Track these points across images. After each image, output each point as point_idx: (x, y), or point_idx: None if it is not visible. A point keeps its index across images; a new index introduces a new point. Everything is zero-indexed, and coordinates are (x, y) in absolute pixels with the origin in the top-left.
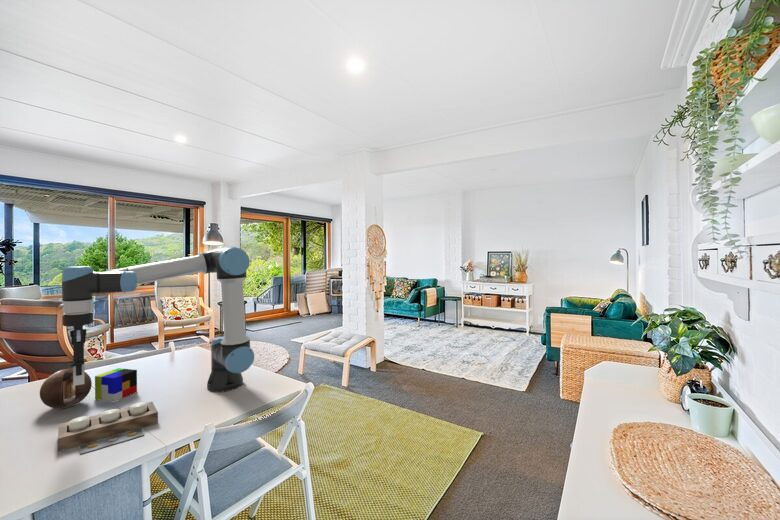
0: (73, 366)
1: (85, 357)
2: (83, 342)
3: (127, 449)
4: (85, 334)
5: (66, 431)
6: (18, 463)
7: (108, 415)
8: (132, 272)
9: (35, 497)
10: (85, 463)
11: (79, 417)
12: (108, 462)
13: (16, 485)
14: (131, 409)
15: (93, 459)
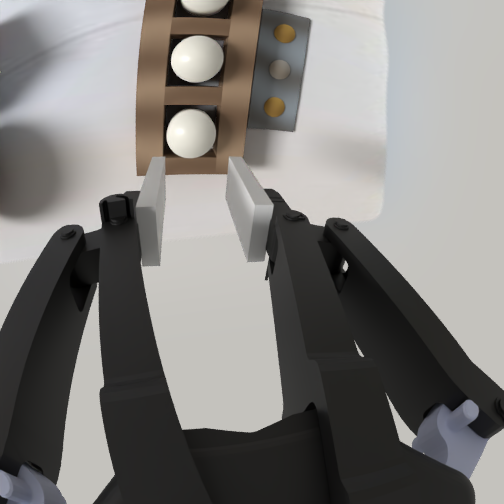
0: (264, 257)
1: (103, 207)
2: (467, 357)
3: (346, 64)
4: (410, 477)
5: (207, 158)
6: None
7: (221, 65)
8: None
9: (375, 195)
10: (338, 130)
11: (169, 134)
12: (367, 103)
13: (319, 215)
14: (215, 8)
15: (334, 117)
